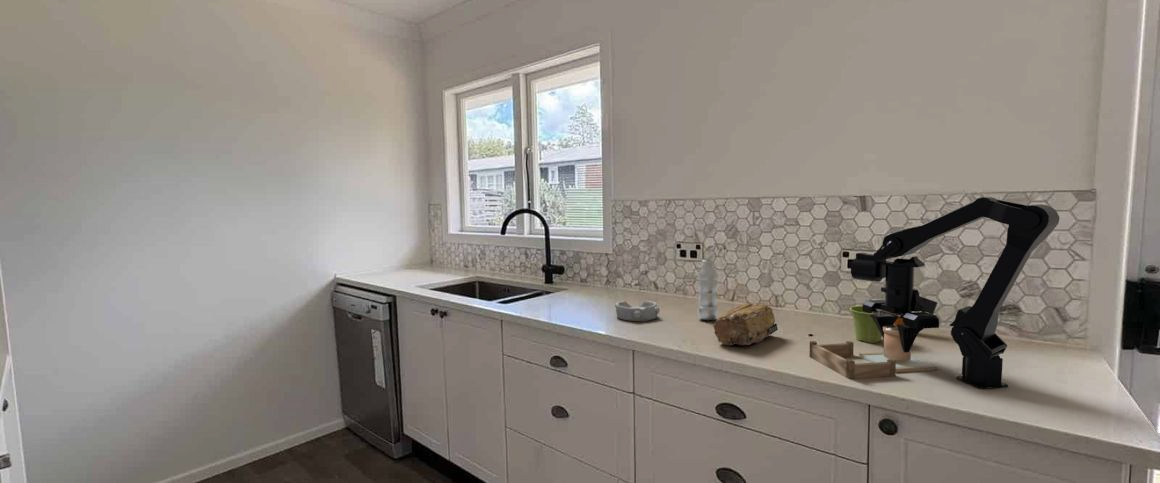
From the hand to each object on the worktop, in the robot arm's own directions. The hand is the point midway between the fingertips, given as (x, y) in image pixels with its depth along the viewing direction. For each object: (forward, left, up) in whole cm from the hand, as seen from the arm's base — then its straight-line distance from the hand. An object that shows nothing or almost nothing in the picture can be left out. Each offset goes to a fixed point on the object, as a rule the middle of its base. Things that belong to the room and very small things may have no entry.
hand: (897, 348), depth 124 cm
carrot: (+25, -20, -4) cm, 32 cm away
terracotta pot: (0, 0, -2) cm, 2 cm away
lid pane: (0, 0, -4) cm, 4 cm away
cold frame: (0, +12, -4) cm, 12 cm away
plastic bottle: (+50, +29, -4) cm, 58 cm away
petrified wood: (+26, +28, -4) cm, 38 cm away
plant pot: (+19, -6, -4) cm, 20 cm away
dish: (+58, +51, -4) cm, 77 cm away
